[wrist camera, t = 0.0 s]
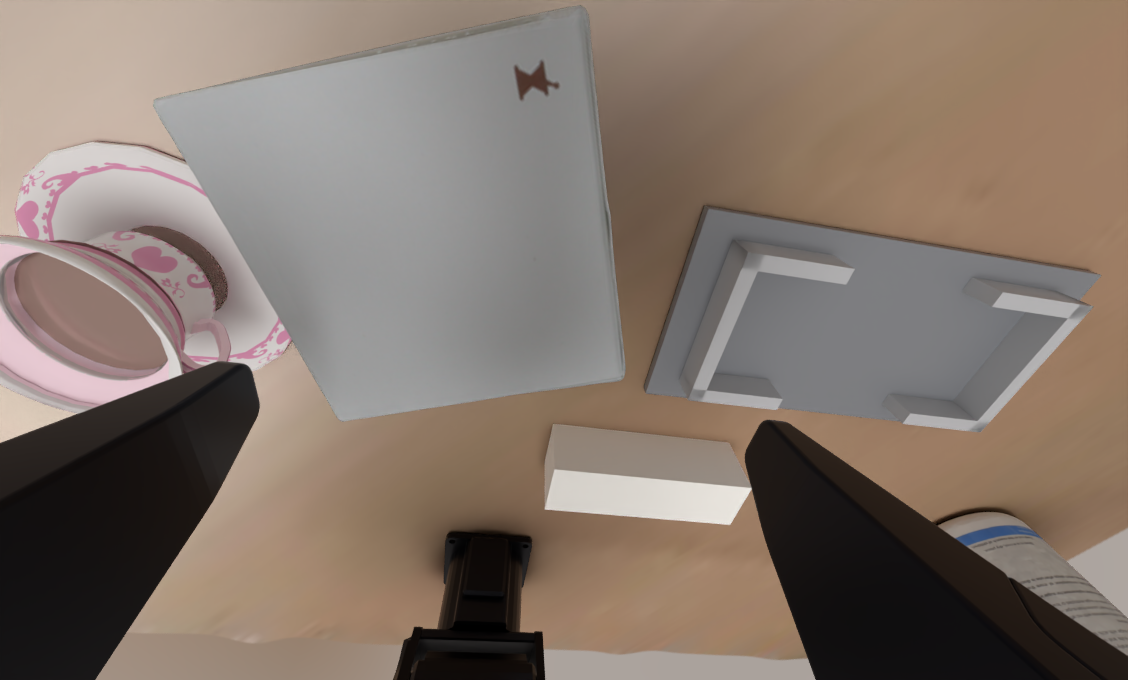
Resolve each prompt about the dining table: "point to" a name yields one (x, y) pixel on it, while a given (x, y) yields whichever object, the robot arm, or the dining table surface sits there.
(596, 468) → the slat
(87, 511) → the robot arm
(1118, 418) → the dining table surface
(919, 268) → the grey bracket base
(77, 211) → the teacup
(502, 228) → the supplement box
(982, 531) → the supplement tub
